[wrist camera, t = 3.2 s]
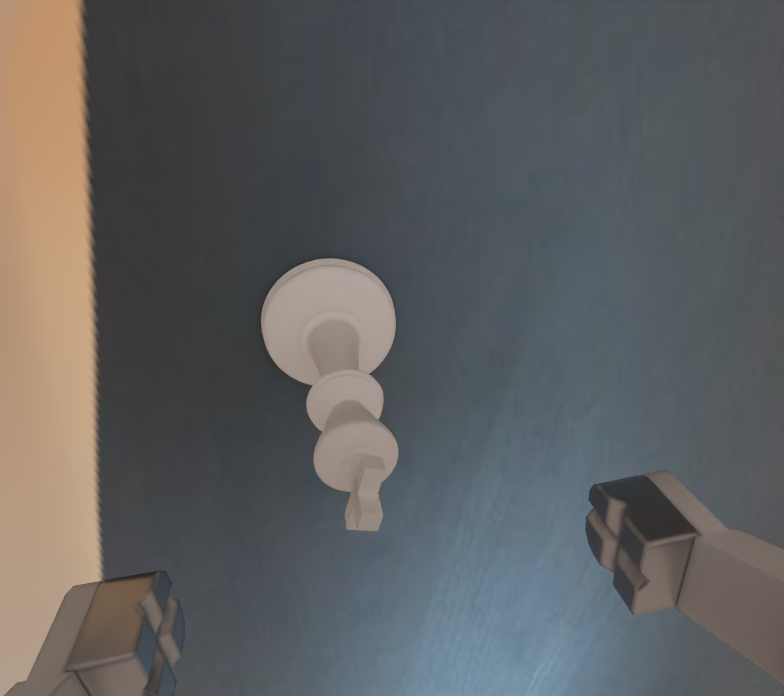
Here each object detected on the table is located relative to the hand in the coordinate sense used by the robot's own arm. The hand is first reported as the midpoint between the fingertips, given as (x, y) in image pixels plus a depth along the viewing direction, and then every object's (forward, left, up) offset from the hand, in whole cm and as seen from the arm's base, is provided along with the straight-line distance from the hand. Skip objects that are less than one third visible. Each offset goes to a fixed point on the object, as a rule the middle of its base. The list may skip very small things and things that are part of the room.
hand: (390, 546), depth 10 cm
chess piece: (0, 0, -11) cm, 11 cm away
